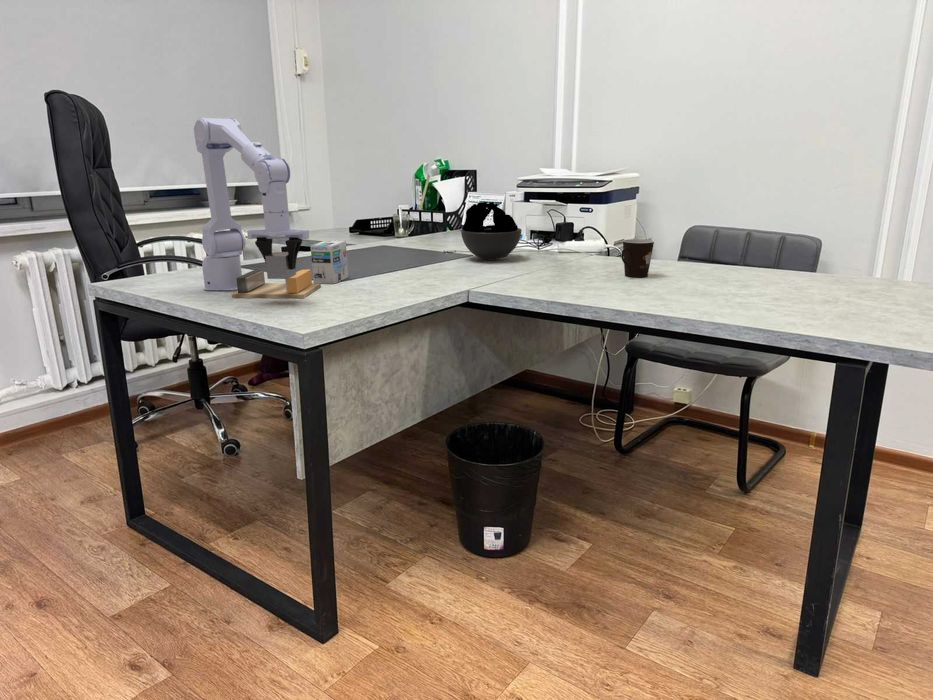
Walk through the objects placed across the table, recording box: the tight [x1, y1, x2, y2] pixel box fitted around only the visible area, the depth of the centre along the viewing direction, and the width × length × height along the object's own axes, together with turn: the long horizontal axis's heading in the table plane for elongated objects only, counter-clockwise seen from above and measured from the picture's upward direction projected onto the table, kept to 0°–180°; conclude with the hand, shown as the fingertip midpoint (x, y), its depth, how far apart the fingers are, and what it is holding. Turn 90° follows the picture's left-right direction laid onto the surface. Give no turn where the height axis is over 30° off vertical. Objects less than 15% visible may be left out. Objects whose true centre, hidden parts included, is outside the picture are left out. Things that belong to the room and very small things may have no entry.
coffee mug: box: [620, 238, 655, 279], centre depth 187 cm, size 12×9×10 cm
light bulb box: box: [310, 240, 349, 285], centre depth 187 cm, size 11×7×11 cm, turn 168°
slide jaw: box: [284, 269, 313, 293], centre depth 172 cm, size 3×12×4 cm, turn 175°
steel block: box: [265, 251, 297, 280], centre depth 159 cm, size 5×6×6 cm
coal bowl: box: [460, 201, 522, 261], centre depth 217 cm, size 20×20×19 cm
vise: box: [230, 268, 322, 299], centre depth 173 cm, size 19×14×5 cm
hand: (281, 268), depth 160 cm, fingers closed on steel block, 5 cm apart
